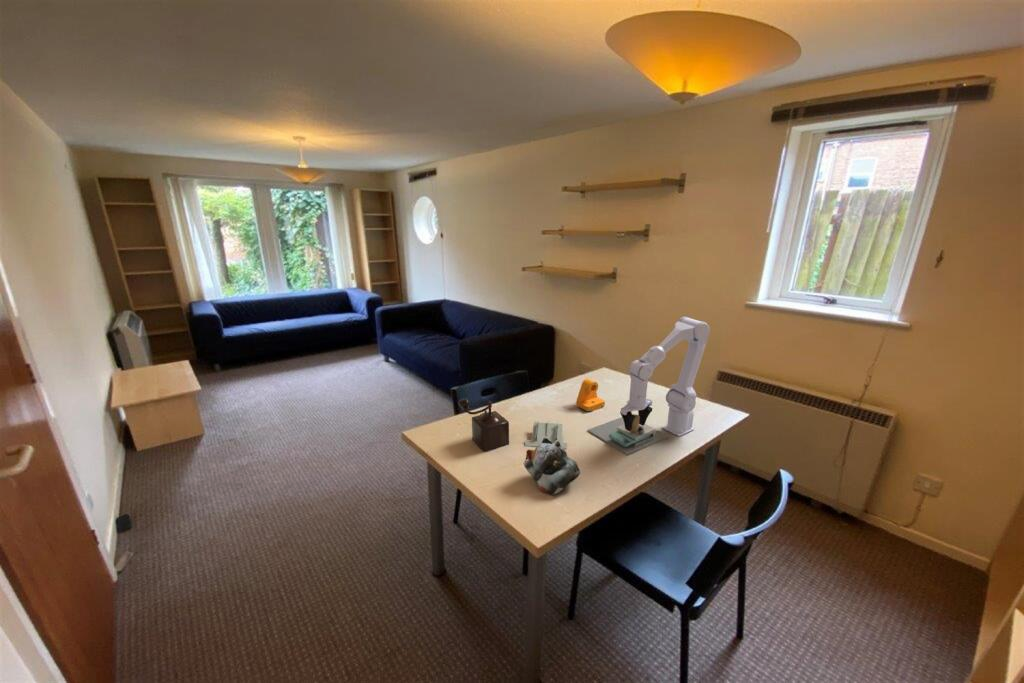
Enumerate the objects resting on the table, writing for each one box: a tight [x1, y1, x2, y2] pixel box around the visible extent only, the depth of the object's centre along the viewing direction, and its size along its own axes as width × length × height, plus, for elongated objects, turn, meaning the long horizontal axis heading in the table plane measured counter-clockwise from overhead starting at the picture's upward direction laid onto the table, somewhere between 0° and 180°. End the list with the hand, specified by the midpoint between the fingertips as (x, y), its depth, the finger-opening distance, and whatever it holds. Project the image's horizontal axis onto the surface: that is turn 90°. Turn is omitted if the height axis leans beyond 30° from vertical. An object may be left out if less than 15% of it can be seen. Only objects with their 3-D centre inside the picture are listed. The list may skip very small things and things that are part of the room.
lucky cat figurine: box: [523, 438, 581, 496], centre depth 123 cm, size 15×12×14 cm
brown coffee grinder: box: [458, 397, 510, 453], centre depth 143 cm, size 16×11×18 cm
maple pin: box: [631, 413, 640, 433], centre depth 146 cm, size 3×3×9 cm
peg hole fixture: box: [609, 423, 656, 447], centre depth 146 cm, size 15×9×4 cm, turn 123°
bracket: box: [575, 378, 606, 412], centre depth 172 cm, size 11×7×12 cm, turn 124°
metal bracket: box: [524, 421, 568, 451], centre depth 148 cm, size 14×6×15 cm
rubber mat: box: [587, 416, 669, 456], centre depth 151 cm, size 22×20×1 cm
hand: (634, 427), depth 146 cm, fingers open, 7 cm apart
